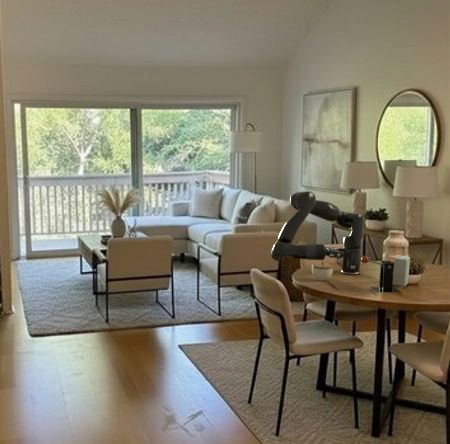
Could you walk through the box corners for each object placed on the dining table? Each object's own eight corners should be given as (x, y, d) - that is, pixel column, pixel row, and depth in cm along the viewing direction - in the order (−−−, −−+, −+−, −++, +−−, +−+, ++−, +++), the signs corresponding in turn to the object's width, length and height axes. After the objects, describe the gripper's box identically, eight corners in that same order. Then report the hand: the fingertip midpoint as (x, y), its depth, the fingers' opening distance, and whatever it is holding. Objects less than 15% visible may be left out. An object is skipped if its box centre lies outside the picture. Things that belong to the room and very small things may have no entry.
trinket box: (310, 276, 303) (311, 259, 301) (331, 277, 300) (332, 260, 299) (311, 281, 292) (312, 263, 291) (333, 282, 290) (334, 264, 289)
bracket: (376, 294, 267) (378, 264, 265) (369, 289, 277) (371, 259, 275) (402, 295, 267) (404, 264, 265) (394, 289, 277) (395, 259, 274)
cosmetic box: (395, 283, 288) (397, 254, 286) (408, 285, 285) (410, 256, 283) (392, 286, 281) (393, 257, 279) (405, 288, 278) (407, 259, 276)
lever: (361, 262, 268) (363, 255, 268) (358, 261, 272) (361, 254, 271) (390, 270, 268) (392, 263, 268) (387, 269, 272) (389, 262, 272)
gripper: (318, 247, 263) (353, 247, 262) (310, 241, 277) (343, 242, 276) (317, 262, 264) (352, 263, 263) (309, 256, 278) (343, 257, 277)
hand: (348, 252), depth 270 cm, fingers open, 8 cm apart
